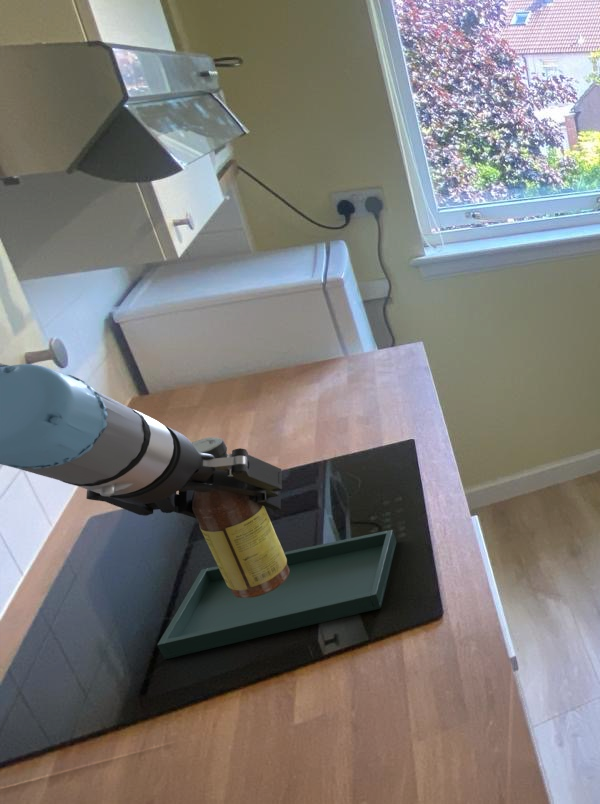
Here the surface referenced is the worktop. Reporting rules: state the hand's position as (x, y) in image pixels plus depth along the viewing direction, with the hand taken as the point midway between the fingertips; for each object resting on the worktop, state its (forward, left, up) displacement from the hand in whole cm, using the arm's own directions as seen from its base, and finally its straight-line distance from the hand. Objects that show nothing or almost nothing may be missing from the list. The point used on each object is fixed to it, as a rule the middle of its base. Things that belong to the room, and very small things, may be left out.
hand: (244, 504), depth 89 cm
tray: (-3, +11, -22) cm, 25 cm away
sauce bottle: (0, -4, -10) cm, 10 cm away
